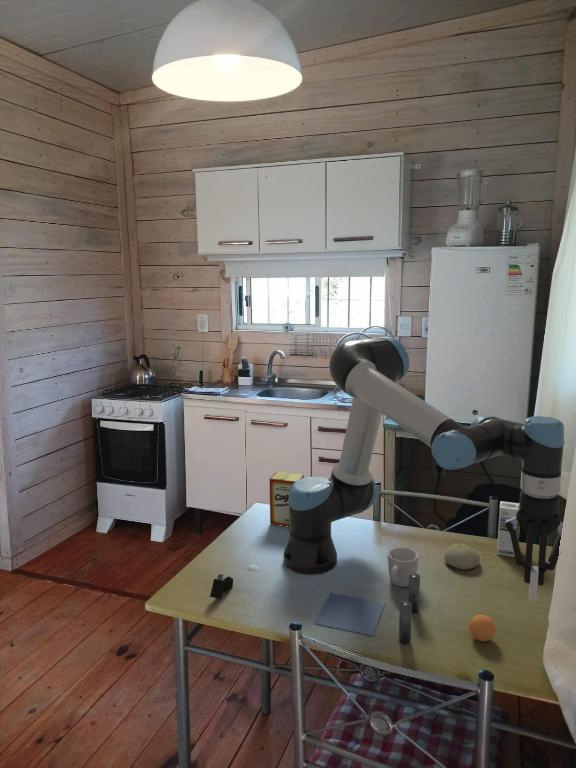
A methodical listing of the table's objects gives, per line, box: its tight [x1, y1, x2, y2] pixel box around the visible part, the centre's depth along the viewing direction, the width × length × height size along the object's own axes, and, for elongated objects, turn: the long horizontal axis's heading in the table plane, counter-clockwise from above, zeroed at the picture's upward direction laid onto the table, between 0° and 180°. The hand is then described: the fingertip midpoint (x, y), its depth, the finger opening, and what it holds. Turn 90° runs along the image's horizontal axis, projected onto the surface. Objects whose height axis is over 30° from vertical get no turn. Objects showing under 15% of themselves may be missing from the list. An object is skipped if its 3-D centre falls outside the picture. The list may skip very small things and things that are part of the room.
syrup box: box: [496, 500, 521, 558], centre depth 172 cm, size 6×6×14 cm
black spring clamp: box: [209, 573, 234, 600], centre depth 153 cm, size 9×2×6 cm
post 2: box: [407, 573, 421, 614], centre depth 144 cm, size 3×3×9 cm
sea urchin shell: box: [443, 543, 481, 571], centre depth 167 cm, size 9×8×8 cm
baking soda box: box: [269, 471, 305, 528], centre depth 193 cm, size 10×6×16 cm
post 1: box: [398, 600, 413, 645], centre depth 133 cm, size 3×3×9 cm
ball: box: [468, 614, 496, 642], centre depth 133 cm, size 6×6×6 cm
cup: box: [387, 546, 420, 588], centre depth 156 cm, size 11×8×8 cm
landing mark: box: [313, 591, 386, 637], centre depth 144 cm, size 14×14×1 cm
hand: (532, 596), depth 128 cm, fingers closed
